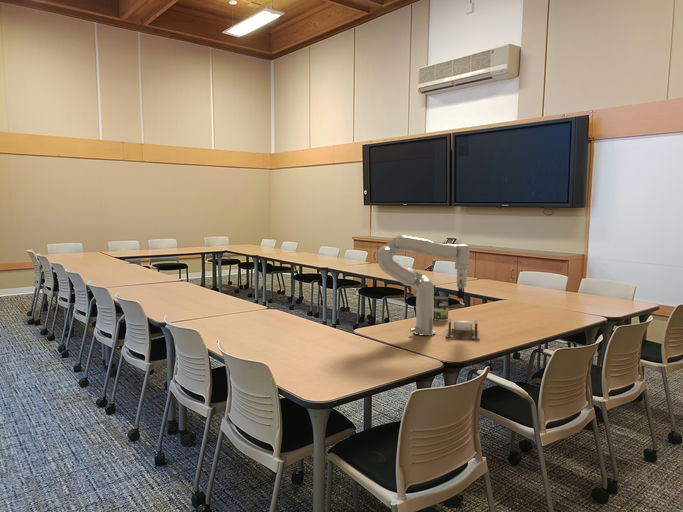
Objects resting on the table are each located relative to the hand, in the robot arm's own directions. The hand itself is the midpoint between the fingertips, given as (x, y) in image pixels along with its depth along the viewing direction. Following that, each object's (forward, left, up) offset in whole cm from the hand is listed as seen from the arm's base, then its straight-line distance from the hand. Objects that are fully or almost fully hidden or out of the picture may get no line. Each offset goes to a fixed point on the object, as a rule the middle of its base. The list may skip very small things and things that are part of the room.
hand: (460, 296), depth 268 cm
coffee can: (+17, +31, -22) cm, 41 cm away
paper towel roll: (-1, -3, -16) cm, 16 cm away
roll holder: (-1, -3, -22) cm, 22 cm away
